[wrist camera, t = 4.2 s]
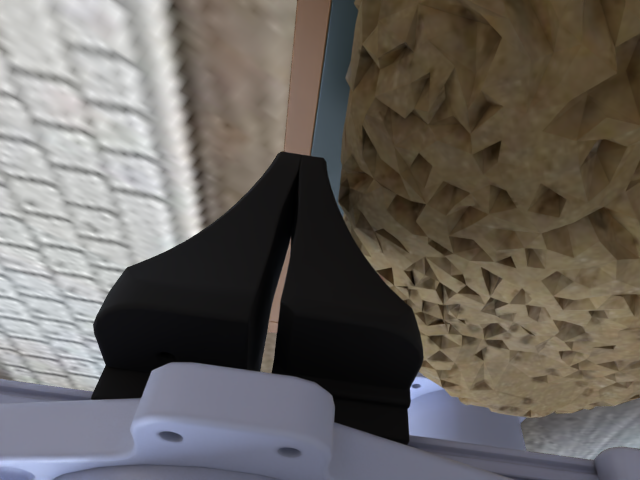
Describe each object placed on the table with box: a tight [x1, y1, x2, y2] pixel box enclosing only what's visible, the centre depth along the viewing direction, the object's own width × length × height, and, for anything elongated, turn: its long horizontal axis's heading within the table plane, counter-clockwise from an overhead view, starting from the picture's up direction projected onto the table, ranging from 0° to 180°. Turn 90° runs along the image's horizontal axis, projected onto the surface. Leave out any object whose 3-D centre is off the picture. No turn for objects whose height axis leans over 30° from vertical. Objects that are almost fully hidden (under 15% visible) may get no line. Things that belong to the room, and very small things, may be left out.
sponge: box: [338, 0, 640, 418], centre depth 14 cm, size 13×8×20 cm
